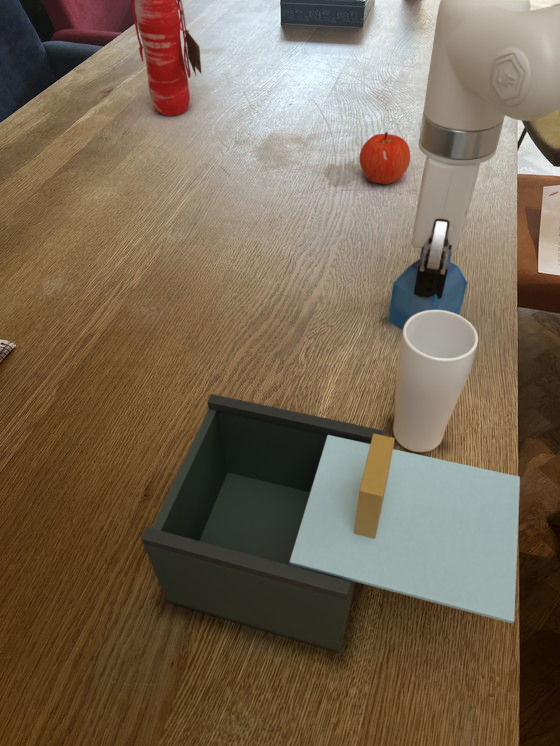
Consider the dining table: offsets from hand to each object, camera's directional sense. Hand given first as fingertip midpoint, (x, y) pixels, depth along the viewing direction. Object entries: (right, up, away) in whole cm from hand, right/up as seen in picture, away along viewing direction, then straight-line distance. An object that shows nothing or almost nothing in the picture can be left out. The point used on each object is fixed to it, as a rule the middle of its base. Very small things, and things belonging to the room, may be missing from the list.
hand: (431, 278), depth 73 cm
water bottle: (-38, +40, +48) cm, 73 cm away
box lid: (-8, -22, -26) cm, 35 cm away
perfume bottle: (0, -5, +5) cm, 7 cm away
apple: (-1, +21, +29) cm, 36 cm away
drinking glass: (-3, -18, -7) cm, 20 cm away
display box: (-18, -28, -15) cm, 37 cm away
